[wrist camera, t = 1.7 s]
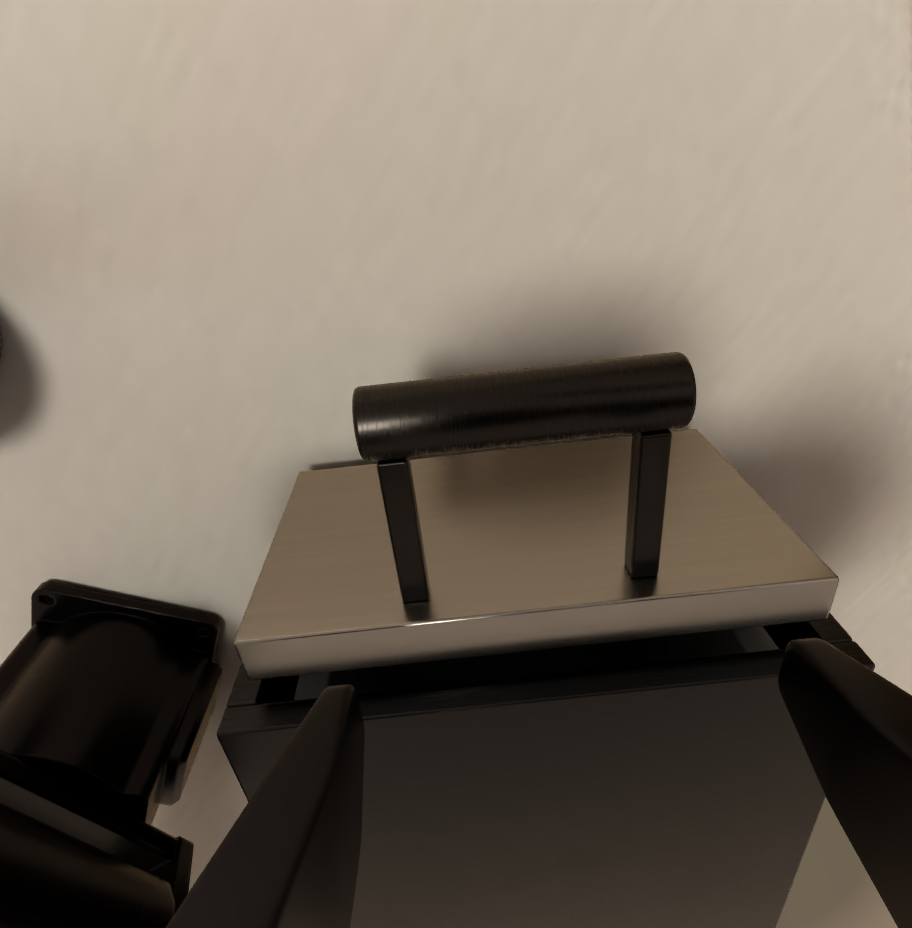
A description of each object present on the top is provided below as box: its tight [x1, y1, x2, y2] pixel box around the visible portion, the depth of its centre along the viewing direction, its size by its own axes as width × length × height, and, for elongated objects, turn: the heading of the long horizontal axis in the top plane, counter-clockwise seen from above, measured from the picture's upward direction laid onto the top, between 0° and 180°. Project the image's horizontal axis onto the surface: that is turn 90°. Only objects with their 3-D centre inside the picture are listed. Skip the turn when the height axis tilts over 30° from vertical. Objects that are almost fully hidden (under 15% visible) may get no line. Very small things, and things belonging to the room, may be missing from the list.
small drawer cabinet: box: [217, 613, 875, 928], centre depth 19 cm, size 13×14×9 cm
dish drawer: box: [234, 352, 839, 700], centre depth 17 cm, size 17×13×7 cm
